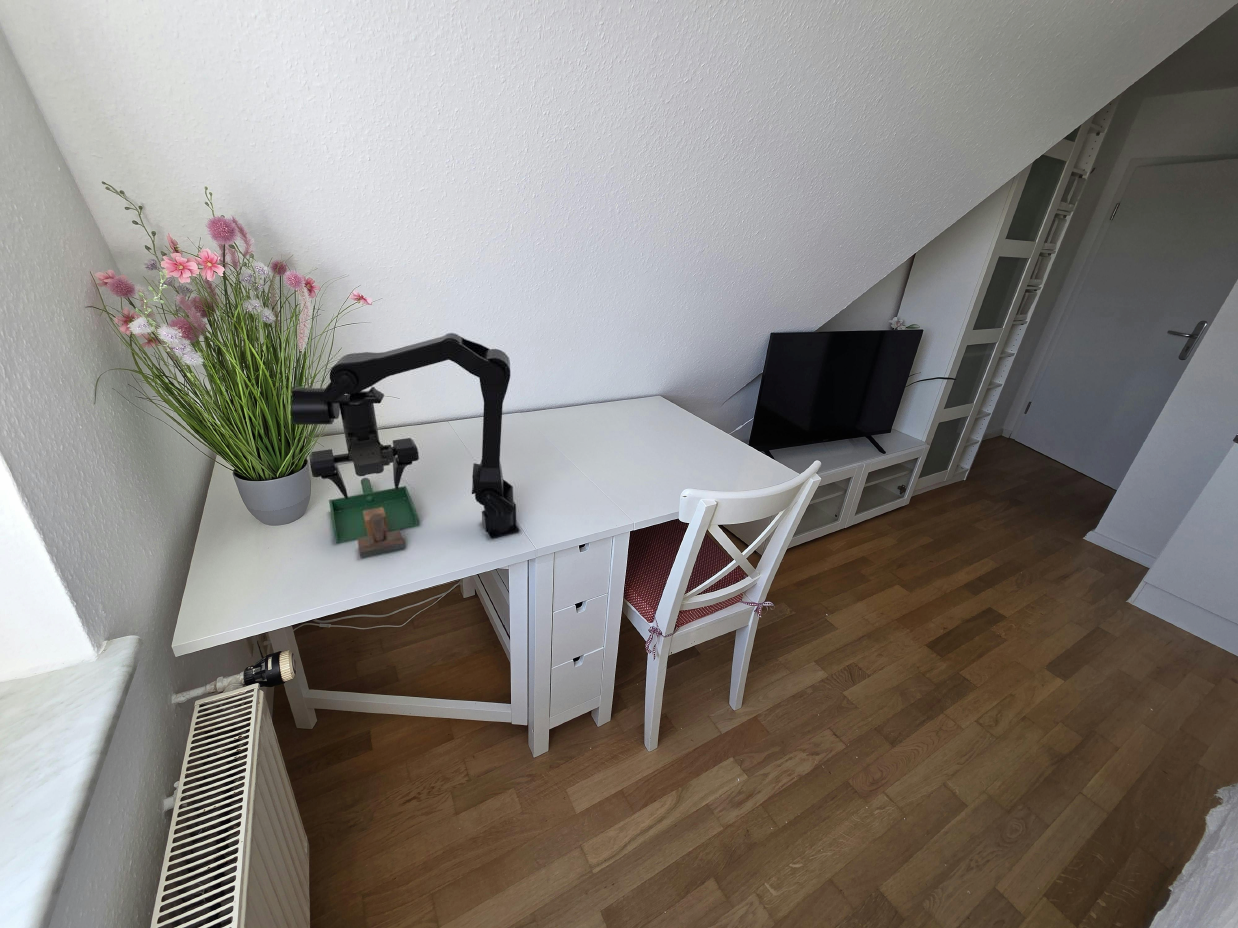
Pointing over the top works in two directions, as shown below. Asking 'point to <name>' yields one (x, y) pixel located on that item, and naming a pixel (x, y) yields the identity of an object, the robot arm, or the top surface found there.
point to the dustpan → (352, 520)
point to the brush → (379, 539)
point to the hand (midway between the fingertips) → (372, 493)
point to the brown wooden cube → (368, 514)
